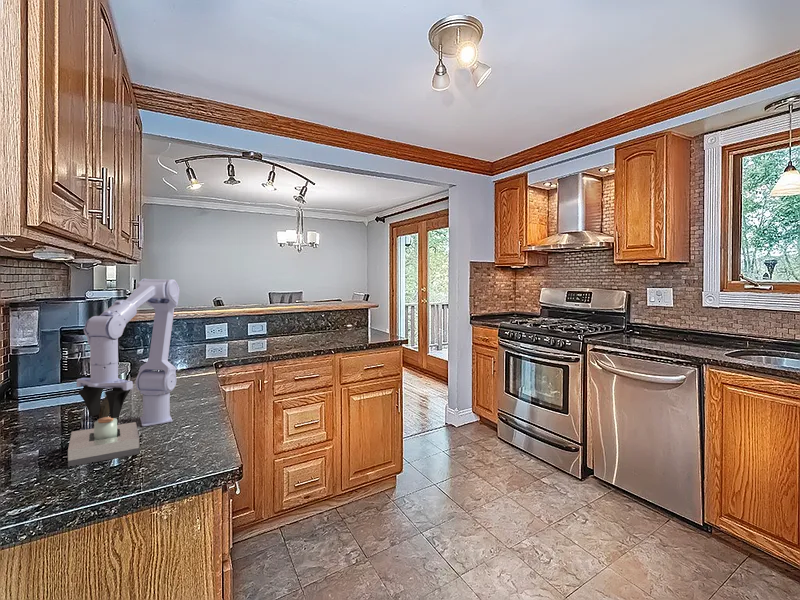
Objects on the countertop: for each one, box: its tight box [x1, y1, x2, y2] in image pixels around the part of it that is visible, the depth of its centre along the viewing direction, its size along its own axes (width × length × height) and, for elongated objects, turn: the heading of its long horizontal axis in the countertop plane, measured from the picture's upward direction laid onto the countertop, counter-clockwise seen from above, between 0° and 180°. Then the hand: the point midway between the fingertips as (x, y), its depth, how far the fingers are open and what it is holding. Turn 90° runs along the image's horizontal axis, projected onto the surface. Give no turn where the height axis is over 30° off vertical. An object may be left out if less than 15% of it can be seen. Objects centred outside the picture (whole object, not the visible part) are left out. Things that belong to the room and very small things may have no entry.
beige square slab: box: [67, 421, 140, 468], centre depth 105 cm, size 14×14×4 cm
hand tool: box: [97, 395, 110, 419], centre depth 135 cm, size 19×4×5 cm, turn 24°
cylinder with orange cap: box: [93, 416, 118, 441], centre depth 105 cm, size 5×5×7 cm
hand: (104, 415), depth 105 cm, fingers open, 5 cm apart
